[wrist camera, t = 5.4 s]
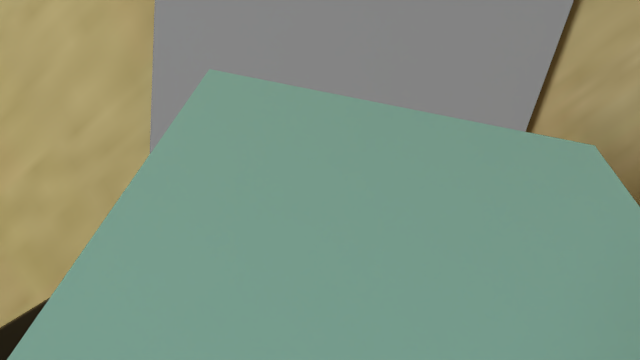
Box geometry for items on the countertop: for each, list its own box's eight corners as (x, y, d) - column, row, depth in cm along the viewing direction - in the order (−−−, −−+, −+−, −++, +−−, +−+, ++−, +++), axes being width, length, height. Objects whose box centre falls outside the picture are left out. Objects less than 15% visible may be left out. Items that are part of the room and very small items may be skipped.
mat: (153, 156, 21) (149, 161, 21) (168, -261, 15) (163, -264, 15) (489, 216, 21) (491, 222, 21) (630, -171, 16) (636, -171, 15)
